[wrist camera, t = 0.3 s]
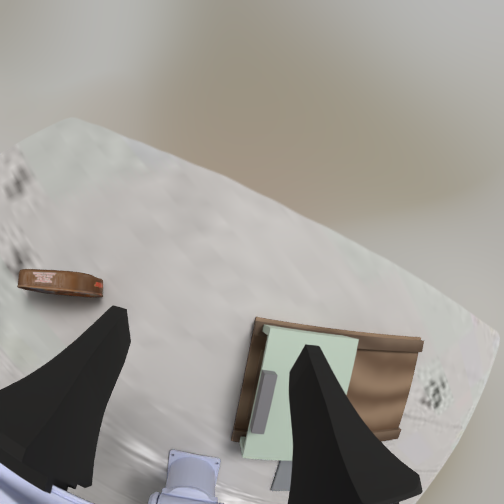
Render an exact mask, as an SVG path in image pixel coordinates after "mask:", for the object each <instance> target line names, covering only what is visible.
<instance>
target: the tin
mask: <svg viewBox="0 0 504 504" xmlns="http://www.w3.org/2000/svg"><path fill="white" fill-rule="evenodd" d="M17 287H18V288H21V289H25V290H30V291H36V292H41V293H48V294H58V295H69V296H81V297H103V295H102V292H103V280H102V279H99V278H96V277H94V276H92V275H89V274H85V273H79V272H71V271H57V270H37V269H22V270H20V272H19V279H18V286H17Z"/></svg>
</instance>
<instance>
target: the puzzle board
mask: <svg viewBox="0 0 504 504" xmlns="http://www.w3.org/2000/svg"><path fill="white" fill-rule="evenodd" d="M264 324H265V325H271V326H277V327H283V328H290V329H297V330H304V331H311V332H318V333H326V334H334V335H343V336H347V337H351V338H355V339H359V341H358V346H357V351H356V356H355V361H354V366H353V370H352V374H351V379H350V383H349V387H348V391H347V395H346V396H347V397H348V399H349V400H350V402H351V404H352V405H353V407H354V408H355V410H356V411H357V413H358V414H359V416H360V417H361V418H362V420H363V421H364V422H365V424H366V425H367V426H368V428H369V429H370V430H371V431H372V432H373V434H374V435H375V436H376V437H377V438H378V439H379V440H380V441H386V440H392V439H398V437H399V434H400V432H401V429H400V428H398V427H399V424H400V421H401V418H402V415H403V412H404V408H405V405H406V402H407V398H408V394H409V391H410V387H411V383H412V379H413V375H414V370H415V366H416V361H417V357H418V352H422V349H423V344H424V341H422V340H421V338H420V337H408V336H395V335H384V334H374V333H365V332H356V331H347V330H339V329H331V328H324V327H316V326H309V325H302V324H296V323H289V322H283V321H277V320H271V319H265V318H259V317H256V319H255V324H254V329H253V335H252V340H251V345H250V350H249V355H248V360H247V365H246V370H245V375H244V380H243V385H242V390H241V395H240V400H239V405H238V410H237V415H236V419H235V424H234V429H233V434H232V438H231V441H234V442H240V438H241V437H246V436H247V431H248V427H249V423H250V418H251V414H252V409H253V404H254V400H255V395H256V390H257V386H258V381H259V376H260V371H261V366H262V362H263V357H264V352H265V347H266V341H267V336H268V335H267V334H265V333H264V332H263V327H264Z"/></svg>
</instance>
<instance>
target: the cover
mask: <svg viewBox="0 0 504 504" xmlns="http://www.w3.org/2000/svg"><path fill="white" fill-rule="evenodd" d="M263 332H264V333H265V334H267V335H268V336H267V341H266V347H265V352H264V357H263V362H262V366H261V371H260V376H259V381H258V386H257V390H256V395H255V400H254V404H253V409H252V414H251V418H250V423H249V427H248V431H247V436H246V437H241V438H240V447H241V453H242V458H248V459H261V460H282V461H292V456H293V438H292V426H291V415H290V404H289V372H290V370H291V368H292V367H293V365H294V363H295V362H296V360H297V358H298V356H299V355H300V353H301V351H302V349H303V348H304V346H305V344H307V345H316V346H320V348H321V350H322V352H323V354H324V355H325V357H326V359H327V361H328V363H329V365H330V367H331V369H332V371H333V373H334V374H335V376H336V378H337V380H338V382H339V384H340V385H341V387H342V389H343V390H344V392H345V394H346V395H347V391H348V387H349V383H350V379H351V374H352V370H353V366H354V361H355V356H356V351H357V346H358V341H359V339H355V338H351V337H347V336H343V335H334V334H326V333H318V332H311V331H304V330H297V329H290V328H283V327H277V326H271V325H265V324H264V327H263Z"/></svg>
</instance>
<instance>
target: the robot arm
mask: <svg viewBox="0 0 504 504" xmlns="http://www.w3.org/2000/svg"><path fill="white" fill-rule="evenodd" d="M130 343H131V339H130V332H129V324H128V316H127V309H124V308H120V307H117V306H112V307H110V308H109V309H108V310H107V311H106V312H105V313H104V314H103V315H102V316H101V317H100V318H99V319H98V320H97V321H96V322H95V323H94V324H93V325H92V326H90V327H89V328H88V329H87V330H86V331H85V332H84V333H83V334H82V335H81V336H80V337H78V338H77V339H76V340H75V341H74V342H73V343H72V344H70V345H69V346H68V347H67V348H66V349H64V350H63V351H62V352H61V353H60V354H58V355H57V356H56V357H54V358H53V359H52V360H50V361H49V362H48V363H46V364H45V365H43V366H42V367H41V368H39V369H37V370H36V371H34V372H33V373H31V374H30V375H28V376H26V377H25V378H23V379H21V380H19V381H17V382H15V383H13V384H11V385H9V386H7V387H5V388H3V389H1V390H0V504H94V503H92V502H89V501H87V500H85V499H82V498H80V497H78V496H76V495H74V494H71V493H69V492H67V489H68V486H69V487H71V488H73V489H76V486H77V484H78V485H80V486H82V487H84V488H86V487H89V486H91V485H92V477H93V466H94V459H95V452H96V446H97V441H98V436H99V431H100V427H101V423H102V419H103V415H104V412H105V409H106V406H107V403H108V401H109V398H110V396H111V393H112V391H113V388H114V386H115V384H116V381H117V379H118V377H119V374H120V372H121V370H122V367H123V365H124V362H125V359H126V356H127V353H128V349H129V346H130ZM289 404H290V415H291V426H292V438H293V456H292V473H291V484H290V492H289V500H288V504H399V502H400V501H403V500H406V499H409V498H411V497H414V496H417V495H419V494H421V493H422V487H421V481H420V477H419V474H417V473H416V472H415V471H413V470H412V469H410V468H409V467H408V466H406V465H405V464H404V463H403V462H401V461H400V460H399V459H398V458H397V457H396V456H395V455H394V454H392V453H391V452H390V451H389V450H388V449H387V448H386V447H385V446H384V445H383V443H382V442H381V441H380V440H379V439H378V438H377V437H376V436H375V435H374V434H373V432H372V431H371V430H370V429H369V428H368V426H367V425H366V424H365V422H364V421H363V420H362V418H361V417H360V416H359V414H358V413H357V411H356V410H355V408H354V407H353V405H352V404H351V402H350V400H349V399H348V397H347V396H346V394H345V392H344V390H343V389H342V387H341V385H340V384H339V382H338V380H337V378H336V376H335V374H334V373H333V371H332V369H331V367H330V365H329V363H328V361H327V359H326V357H325V355H324V354H323V352H322V350H321V348H320V346H316V345H307V344H305V346H304V348H303V349H302V351H301V353H300V355H299V356H298V358H297V360H296V362H295V363H294V365H293V367H292V368H291V370H290V372H289ZM171 454H174V455H171ZM216 462H218V463H216ZM220 462H221V461H220V459H219V458H215V457H209V456H203V455H197V454H192V453H187V452H182V451H177V450H170V454H169V463H168V473H167V483H166V486H165V488H163V489H162V492H161V494H160V492H155V493H153V494H151V495H150V498H149V501H148V504H218V498H217V497H215V486H216V481H217V476H218V471H219V466H220ZM219 504H224V503H219Z"/></svg>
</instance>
